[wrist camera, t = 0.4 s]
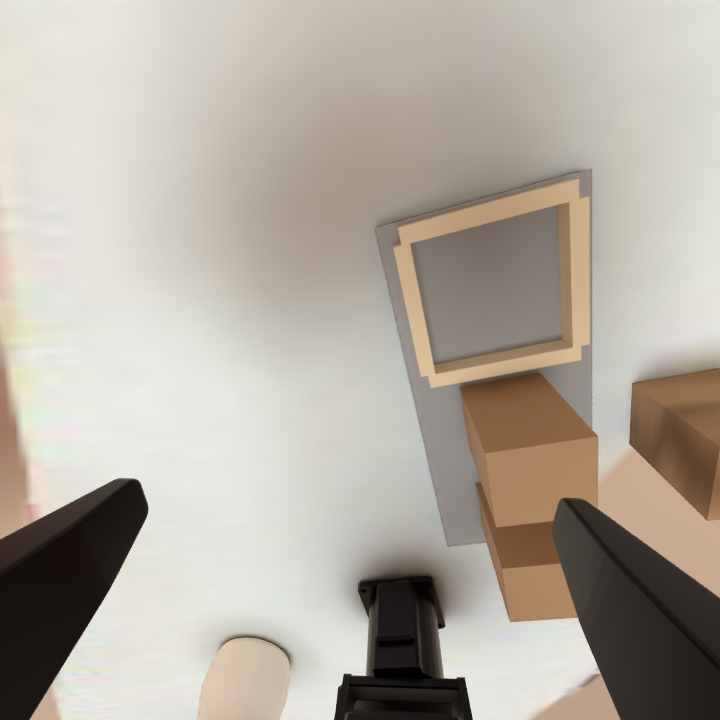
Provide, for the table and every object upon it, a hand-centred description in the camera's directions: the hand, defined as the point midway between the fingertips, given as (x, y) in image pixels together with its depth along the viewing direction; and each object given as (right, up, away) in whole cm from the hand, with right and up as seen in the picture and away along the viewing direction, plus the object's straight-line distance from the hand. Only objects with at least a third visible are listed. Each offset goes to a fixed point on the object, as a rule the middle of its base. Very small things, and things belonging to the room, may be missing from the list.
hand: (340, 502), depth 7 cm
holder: (+9, +1, +14) cm, 17 cm away
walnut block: (+19, 0, +14) cm, 24 cm away
